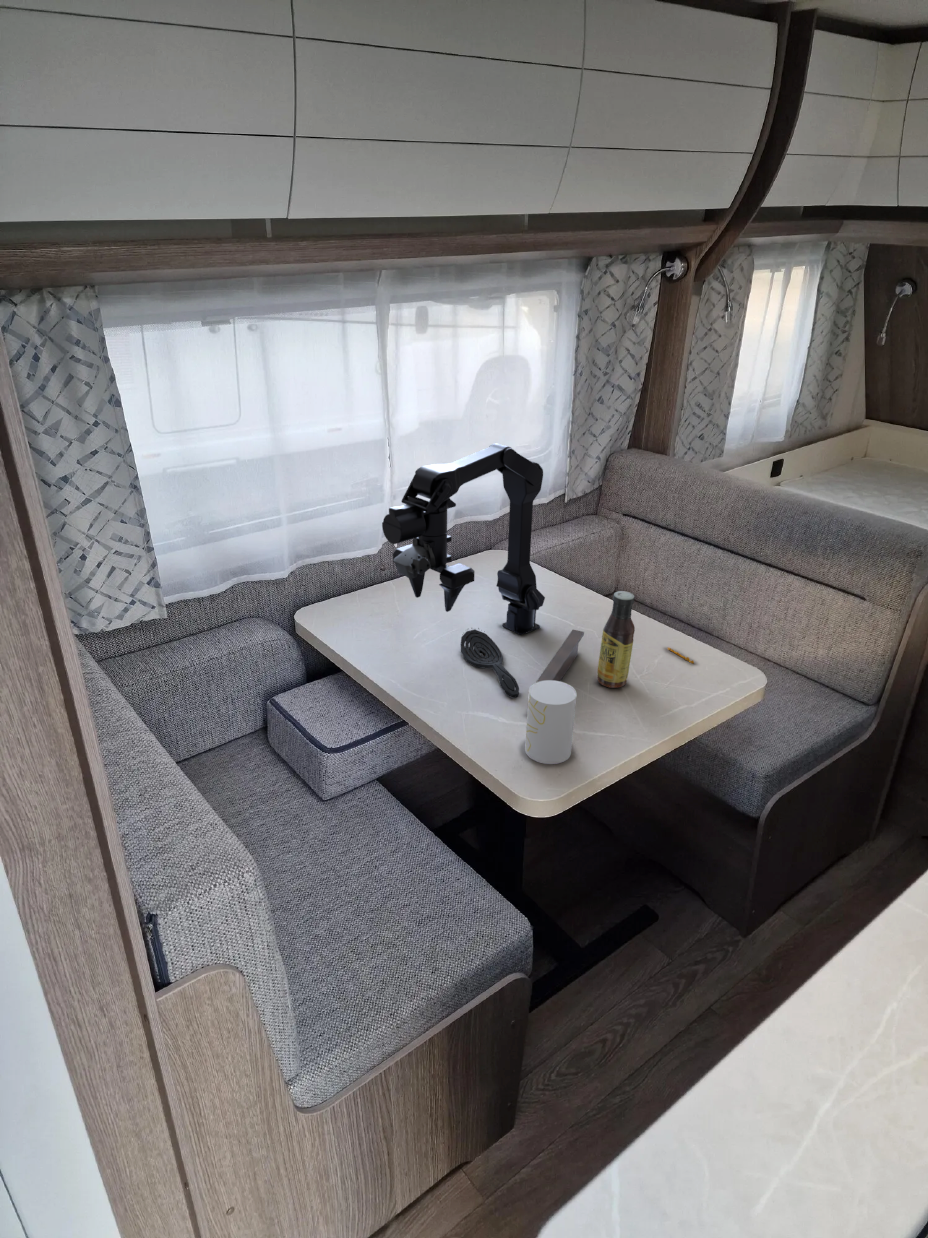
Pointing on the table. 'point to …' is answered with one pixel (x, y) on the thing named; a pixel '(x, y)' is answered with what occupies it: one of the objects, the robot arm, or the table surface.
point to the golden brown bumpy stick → (680, 655)
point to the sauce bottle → (617, 642)
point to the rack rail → (562, 658)
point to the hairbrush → (487, 658)
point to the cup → (550, 721)
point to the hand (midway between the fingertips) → (432, 603)
